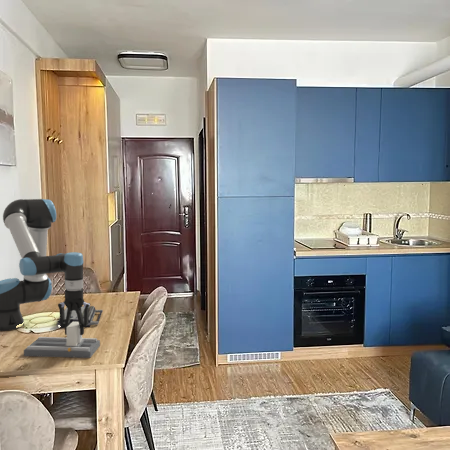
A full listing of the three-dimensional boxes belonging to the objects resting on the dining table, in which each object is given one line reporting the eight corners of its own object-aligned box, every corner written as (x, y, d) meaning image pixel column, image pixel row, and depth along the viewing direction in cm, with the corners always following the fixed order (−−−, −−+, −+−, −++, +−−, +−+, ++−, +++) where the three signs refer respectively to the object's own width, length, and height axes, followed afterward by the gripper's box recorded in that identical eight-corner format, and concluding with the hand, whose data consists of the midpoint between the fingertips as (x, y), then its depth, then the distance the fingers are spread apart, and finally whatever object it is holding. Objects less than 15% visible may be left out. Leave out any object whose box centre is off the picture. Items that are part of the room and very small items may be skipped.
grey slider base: (23, 356, 190) (23, 347, 189) (37, 344, 204) (37, 336, 203) (90, 357, 190) (90, 349, 189) (99, 345, 204) (99, 337, 203)
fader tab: (64, 347, 192) (64, 327, 192) (70, 341, 200) (70, 321, 200) (78, 348, 192) (78, 327, 192) (84, 341, 200) (84, 321, 199)
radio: (65, 305, 249) (102, 304, 252) (65, 314, 250) (102, 313, 253) (56, 318, 225) (98, 317, 229) (56, 329, 226) (98, 327, 229)
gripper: (50, 290, 190) (51, 344, 193) (91, 291, 190) (91, 345, 192) (57, 286, 198) (58, 338, 200) (96, 287, 198) (96, 339, 200)
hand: (74, 341), depth 196 cm, fingers closed on fader tab, 4 cm apart
